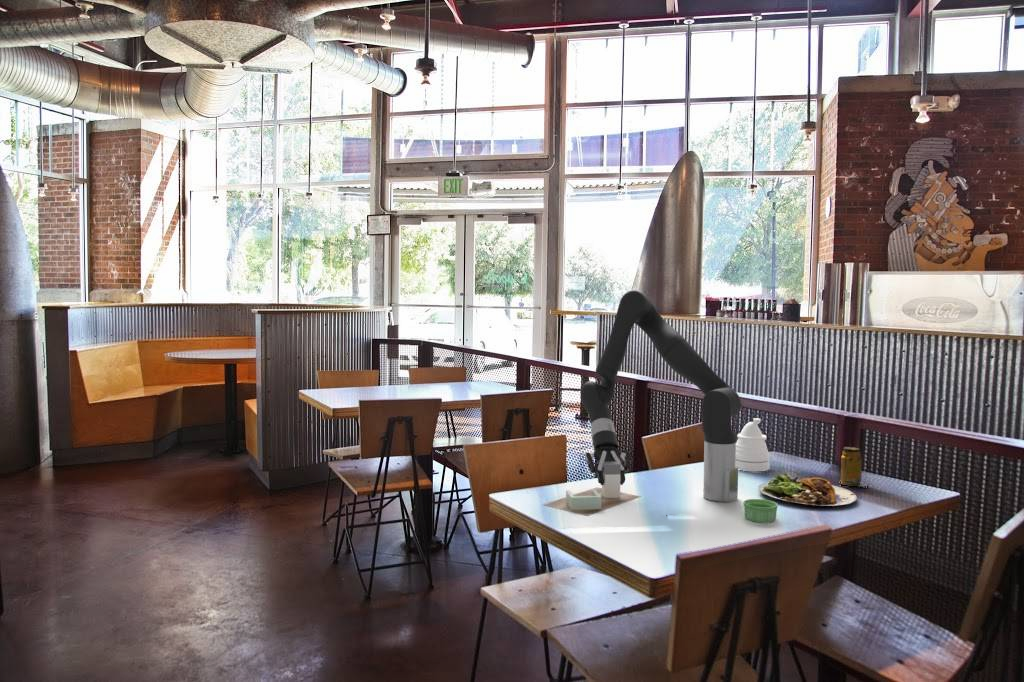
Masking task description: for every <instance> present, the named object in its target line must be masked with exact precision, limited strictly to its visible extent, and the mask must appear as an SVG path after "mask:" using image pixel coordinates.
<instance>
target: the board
mask: <svg viewBox="0 0 1024 682" xmlns="http://www.w3.org/2000/svg"><path fill="white" fill-rule="evenodd" d="M592 490H596V491H597V492H598V494H599V495H600V496H601V509H591V510H571V509H570V507H569V506H568V504H567V503H566V496H565V497H562V498H559V499H555V500H553V501H550V502H547V503H544V504H542V506H545V507H548V508H552V509H555V510H556V509H557V510H562V511H564V512H565V511H566V512H569V513H574V514H578V515H583V516H586V517H589V516H591V515H594V514H597V513H601V512H603V511H606V510H607V509H611V508H614V507H616V506H617V507H618V506H620V505H622V504H624V503H627V502H630V501H632V500H636V499H637V498H638V499H639V498H641V497H642V496H640V495H635V494H631V493H627V492H626V493H625V492H622V491H620V498H605V497H604V496H603V495H602V487H597V486H596V487H594V488H591V489H587V490H585V491H584V490H583V491H581V492H578V493H574V494H573V496H574V497H577V496H592Z"/></svg>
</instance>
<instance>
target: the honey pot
mask: <svg viewBox="0 0 1024 682" xmlns="http://www.w3.org/2000/svg"><path fill="white" fill-rule="evenodd" d="M752 419H753V420H752V421H749V422H747V423H746V424H745V425H744V426H743V428H742V429H741V432H740V433H738V434H736V438H737V439H736V467H738V469H740V470H745V471H766V470H768V469H769V470H770V464H771V463H770V462H771V461H770V458H771V455H770V453H769V450H768V445H767V444H766V441H765V440H767V435H765V434H763V433H762V431H761V429H760V427H759V424H760V423H761V421H762V419H761V418H758V417H757V418H756V417H754V418H752Z"/></svg>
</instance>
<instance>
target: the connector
mask: <svg viewBox="0 0 1024 682" xmlns="http://www.w3.org/2000/svg"><path fill="white" fill-rule="evenodd" d="M621 464H622V463H621ZM621 464H620V463H618V462H616V461H604V462H603V466H602V470H601V471H603V477H604V485H601V488H602V495H603V496H604V497H605V498H620V492H621V485H620V469H621Z"/></svg>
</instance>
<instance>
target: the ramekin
mask: <svg viewBox="0 0 1024 682" xmlns="http://www.w3.org/2000/svg"><path fill="white" fill-rule="evenodd" d="M778 506H779V504H778V502H775V501H773V500H769V499H763V498H749V499H745V500H744V501H743V508H744V509H743V510H744V517H745V519H746V520H748V521H751V522H753V523H754V522H755V523H762V524H763V523H764V524H767V523H773V522H775V521H776V519H777V518H776V517H777V511H778Z"/></svg>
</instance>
